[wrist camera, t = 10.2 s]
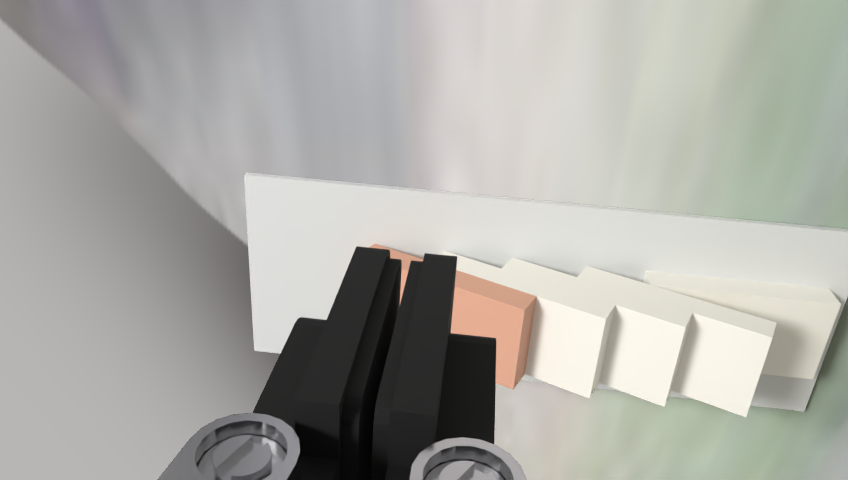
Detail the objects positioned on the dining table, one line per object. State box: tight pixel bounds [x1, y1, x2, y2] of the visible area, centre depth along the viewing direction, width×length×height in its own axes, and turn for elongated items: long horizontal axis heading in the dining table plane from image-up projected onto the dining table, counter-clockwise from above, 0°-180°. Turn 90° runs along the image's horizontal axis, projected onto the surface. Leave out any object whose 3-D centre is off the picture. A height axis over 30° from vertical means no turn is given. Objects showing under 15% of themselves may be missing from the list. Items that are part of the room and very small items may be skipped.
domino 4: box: [578, 266, 776, 417], centre depth 39 cm, size 2×5×10 cm
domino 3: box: [501, 258, 692, 407], centre depth 40 cm, size 2×5×10 cm
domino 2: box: [440, 251, 615, 399], centre depth 40 cm, size 2×5×10 cm
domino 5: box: [643, 271, 841, 379], centre depth 41 cm, size 2×5×10 cm
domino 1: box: [369, 244, 537, 389], centre depth 40 cm, size 2×5×10 cm
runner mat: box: [244, 172, 848, 411], centre depth 43 cm, size 34×12×1 cm, turn 86°
